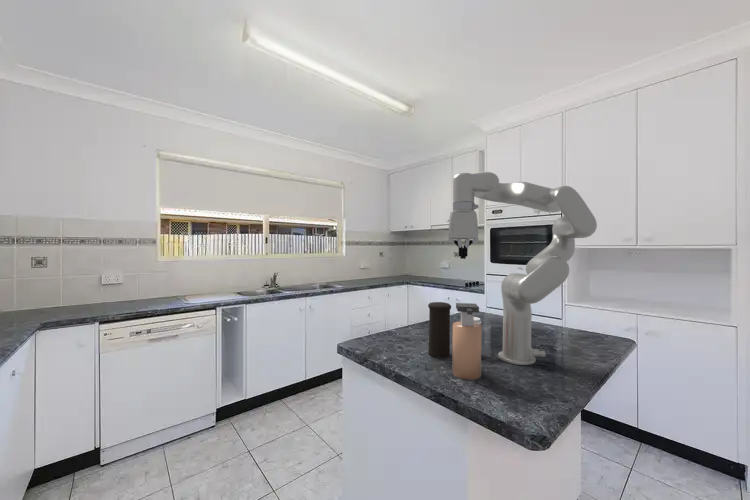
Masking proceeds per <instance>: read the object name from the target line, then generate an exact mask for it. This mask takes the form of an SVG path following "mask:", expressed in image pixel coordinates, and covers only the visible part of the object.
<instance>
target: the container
mask: <svg viewBox="0 0 750 500" xmlns="http://www.w3.org/2000/svg"><path fill="white" fill-rule="evenodd" d="M427 307H428V309H429V313H428V314H429V315H428V316H429V317H428V319H429V320H428V352H427V353H428V355H429V356H430V357H432V358H437V359H446V358H449V357H451V356H450V355H451V349H450V348H451V344H450V343H451V339H450V337H451V335H450V333H451V322H450V321H451V310H452V305H451V304H450V303H448V302H443V301H437V302H436V301H433V302H429V303H428V305H427Z"/></svg>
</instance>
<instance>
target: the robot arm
mask: <svg viewBox="0 0 750 500" xmlns="http://www.w3.org/2000/svg"><path fill="white" fill-rule="evenodd" d="M452 179H453V180H452V211H450V214H449V220H448V239H447V241H448V242H449V243H452V244H455V245H456V246H457V248H458V257H460V259H461V260H462V259H464V260H466V258H467V257H468V250H469V249H468V248H469V247H470V246H471V245H472V244H475V243H479V223H478V215H477V211H475V210H477V209H479V208H480V207H479V204H476V203H475V198H477V199H480V200H486V201H489V202H494V203H500V204H507V205H516V206H521V207H526V208H528V209H534V210H537V211H541V212H544V213H559V212H561V213H562V215H563V216H560V217H558V218H557V219H556V220H555V221H554V222H553V224H552V229H551V230H552V239H551V242H550V243H549V245H547V246H546V247H545V248H543V250H541V251H540V252H538V253H537V254H536V255H535V256H534V257H533V258H531V259H530V260H529V261H528V262H527V263H526V266H525V272H526V274H525V273H518V272H517V273H516V272H515V273H514V272H512V273H510V274H507V275H505V277H504V278H503V279H502V282H501V286H500V287H501V289H500V290H501V295H502V296H501V297H502V306H503V309H502V310H503V313H502V350H501V351H499V352H498V353H497V355H498V359H500V360H501V361H503V362H506V363H508V364H512V365H518V366H519V365H520V366H528V365H529V366H531V365H534V364H535V363H536V360H537V357H543V358H545V357H546V351H545V350H540V349H534V348H532V315H533V314H532V312H533V311H532V304H537V303H539V302H541V301H542V300H544V299H545V298H546V297H548V296H549V295H550V294H551V293H553V292H554V291H555V290H556V289H557V288H559V287H560V286H562V284H564V283H565V281H566V280H567V279H568V277H569V274H570V266H569V263H568V262H569V261H570V260H571V259H572V258H573V255H574V253H575V249H576V247H575V246H576V240H575V239H584V238H588V237H589V238H590V237H591V236H592V235H594V233H595V232H596V231H597V227H598V225H597V224H598V223H597V219H596V218H595V216H594V214H593V212H592V210H591V209H590V208H589V207H588V205H587V203H586V202H585V200H584V199H583V197H582V196H581V194H580V193H579V192H577V191H576V189H574V187H572V186H568V185H562V186H558V187H554V188H551V187H546V186H543V185H539V184H535V183H531V182H527V181H517V182H505V183H502V182H500V178H499V176H498V175H497V174H496V173H493V172H491V171H484V172H477V173H470V172H461V173H460V172H459V173H456V174H454V176H453V178H452ZM462 240H464V245H462Z"/></svg>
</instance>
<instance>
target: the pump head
mask: <svg viewBox="0 0 750 500" xmlns="http://www.w3.org/2000/svg"><path fill="white" fill-rule="evenodd" d="M455 309H456V311H457V312H458V313H461V312H466V313H467V314H468V315H473V312H474V313H480V307H479V306H478V304H477V303H467V302H466V303H465V302H464V303H463V302H455Z"/></svg>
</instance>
